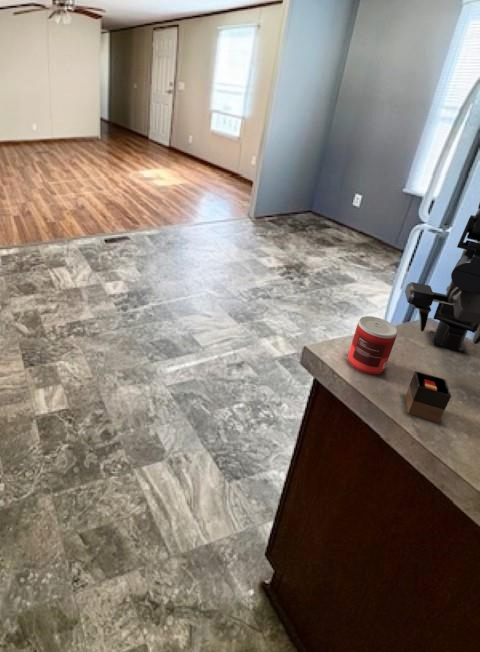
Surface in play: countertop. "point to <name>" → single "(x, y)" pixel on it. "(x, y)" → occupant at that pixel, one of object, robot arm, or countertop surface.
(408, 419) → the countertop surface
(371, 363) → the canned food
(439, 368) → the countertop surface
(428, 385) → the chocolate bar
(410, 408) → the dark brown cube
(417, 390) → the open brown box
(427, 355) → the countertop surface
